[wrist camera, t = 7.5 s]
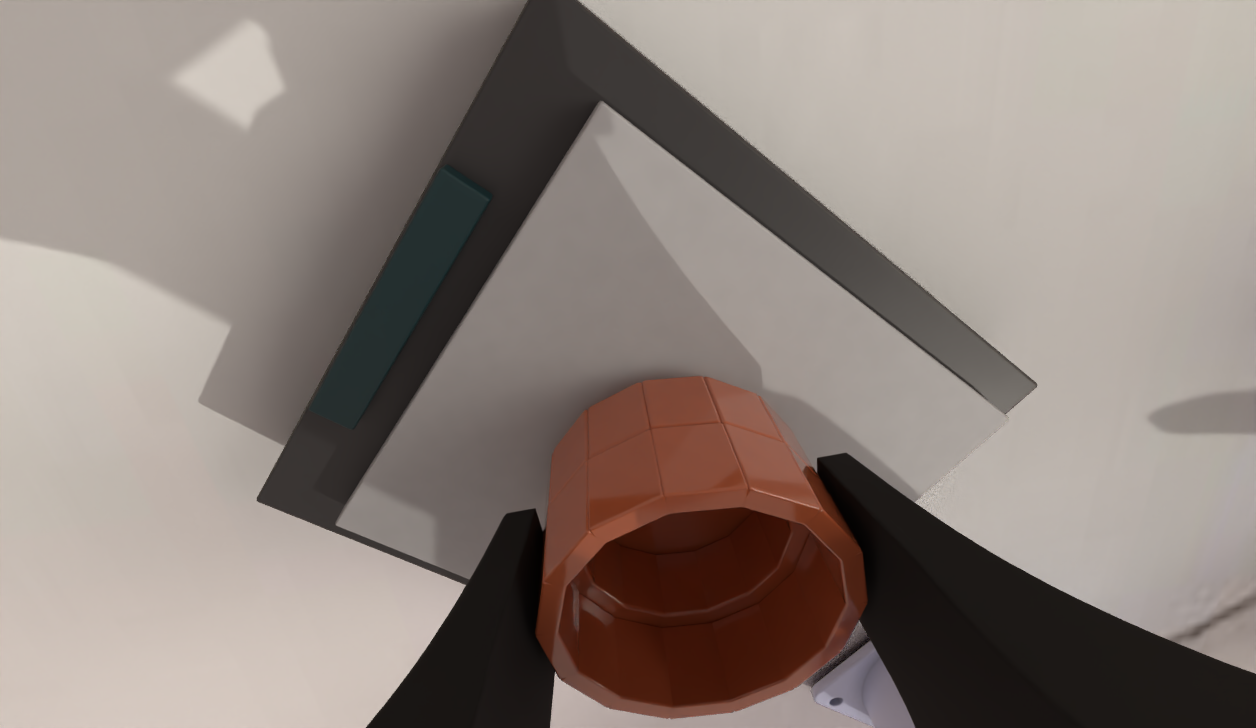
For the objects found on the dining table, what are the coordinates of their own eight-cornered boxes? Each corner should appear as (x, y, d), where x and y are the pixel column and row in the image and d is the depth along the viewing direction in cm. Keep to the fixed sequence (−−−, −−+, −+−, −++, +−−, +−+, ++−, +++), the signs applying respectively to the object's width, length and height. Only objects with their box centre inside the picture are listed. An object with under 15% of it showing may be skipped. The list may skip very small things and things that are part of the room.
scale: (986, 349, 15) (1061, 400, 13) (692, 626, 20) (707, 702, 17) (548, -13, 11) (540, -36, 8) (292, 451, 15) (238, 522, 13)
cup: (840, 439, 13) (937, 576, 9) (687, 588, 15) (721, 749, 11) (647, 313, 11) (677, 426, 8) (502, 502, 13) (472, 661, 10)
